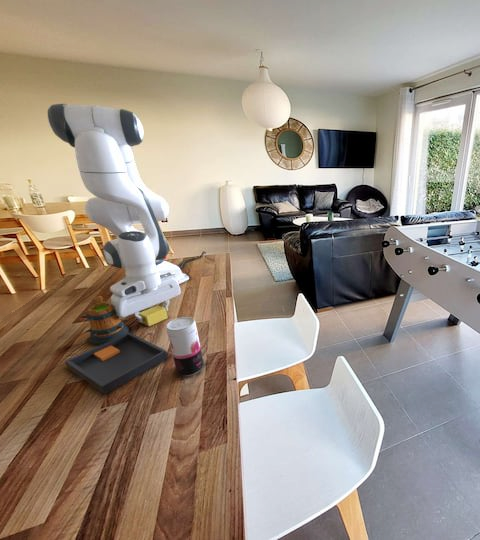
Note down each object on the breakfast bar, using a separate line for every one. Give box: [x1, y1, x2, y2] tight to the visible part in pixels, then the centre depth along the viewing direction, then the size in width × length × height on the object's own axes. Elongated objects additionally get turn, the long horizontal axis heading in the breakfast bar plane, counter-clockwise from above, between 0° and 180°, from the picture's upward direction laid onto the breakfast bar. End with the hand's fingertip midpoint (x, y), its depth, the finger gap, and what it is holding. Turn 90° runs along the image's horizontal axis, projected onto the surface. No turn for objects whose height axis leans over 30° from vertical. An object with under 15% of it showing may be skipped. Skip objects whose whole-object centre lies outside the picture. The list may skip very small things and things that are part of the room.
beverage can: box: [165, 316, 205, 377], centre depth 77 cm, size 6×7×15 cm
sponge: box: [138, 304, 169, 327], centre depth 100 cm, size 6×4×4 cm
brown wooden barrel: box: [81, 295, 130, 346], centre depth 91 cm, size 13×10×12 cm
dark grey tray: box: [64, 331, 169, 395], centre depth 80 cm, size 16×19×2 cm
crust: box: [93, 346, 120, 361], centre depth 83 cm, size 4×4×1 cm
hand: (153, 316), depth 100 cm, fingers closed on sponge, 6 cm apart
